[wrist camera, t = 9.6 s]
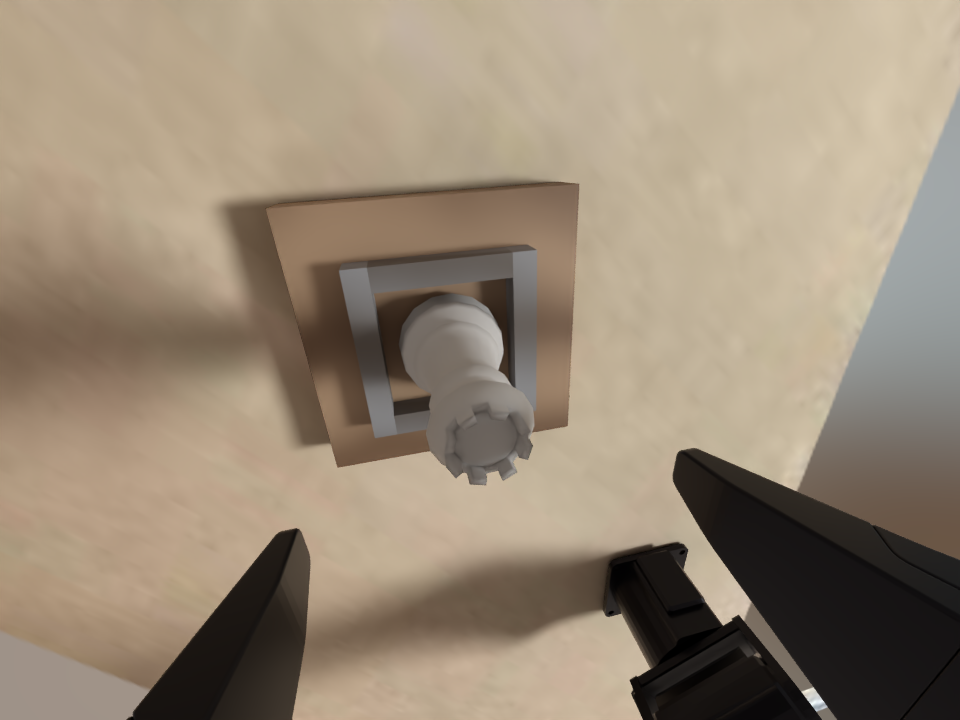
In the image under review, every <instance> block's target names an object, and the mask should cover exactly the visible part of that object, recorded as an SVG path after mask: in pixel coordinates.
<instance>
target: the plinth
mask: <svg viewBox="0 0 960 720" xmlns="http://www.w3.org/2000/svg"><path fill="white" fill-rule="evenodd" d="M578 200H579V184H575V183H565V182H554V183H541V184H528V185H515V186H502V187H489V188H476V189H463V190H450V191H437V192H424V193H411V194H398V195H385V196H372V197H359V198H346V199H333V200H320V201H307V202H294V203H281V204H276V205H274V206H271V207H268V208H266V212H267V216H268V219H269V223H270V226H271V230H272V234H273V237H274V241H275V244H276V248H277V252H278V255H279V259H280V262H281V266H282V269H283V273H284V277H285V280H286V284H287V287H288V291H289V295H290V298H291V302H292V305H293V309H294V313H295V316H296V320H297V323H298V327H299V331H300V334H301V338H302V341H303V345H304V349H305V352H306V356H307V359H308V363H309V367H310V370H311V374H312V377H313V381H314V385H315V388H316V392H317V395H318V399H319V403H320V406H321V410H322V413H323V417H324V421H325V424H326V428H327V431H328V435H329V439H330V442H331V446H332V449H333V453H334V456H335V460H336V464H337V467H344V466H349V465H355V464H360V463H366V462H371V461H377V460H382V459H388V458H394V457H399V456H405V455H410V454H416V453H421V452H427V451H430V448H429V444H428V440H427V436H426V431H427V426H428V422H429V418H430V414H431V412H430V408H429V403H430V399H431V394H430V393H429V392H427V391H425V390H423V389H421V388H419V387H418V385H417V384H416V383H415V382H414V381H413V379H412V378H411V377H410V376H409V374H408V373H407V372H406V370H405V366H404V363H403V359H402V355H401V351H400V348H399V340H400V335H401V330H402V325H403V324H404V322H405V321H406V319H407V318H408V316H409V315H410V314H411V312H412V311H413V309H414V308H416V307H417V306H419V305H420V304H422V303H424V302H425V301H427V300H428V299H430V298H431V297H436V296H441V295H446V294H451V293H453V294H458V295H463V296H469V297H473V298H474V299H476V300H477V301H478V302H480V303H481V304H483V305H484V306H486V307H487V308H488V309H489V310H490V312H491V313H492V315H493V317H494V318H495V320H496V322H497V323H498V327H499V329H500V330H501V333H502V341H503V349H504V350H503V356H502V360H501V363H500V366H499V370H498V371H500V372H501V373H503V374H504V375H505V376H506V378H507V379H508V381H509V382H510V384H511V385H512V387H514V388H516V389H518V390H519V391H521V392H523V393H524V395H525V396H526V398H527V399H528V401H529V403H530V404H531V406H532V407H533V414H534V428H533V431H532V432H537V431H543V430H549V429H554V428H560V427H565V426H568V407H569V387H570V366H571V345H572V324H573V304H574V283H575V262H576V241H577V221H578Z"/></svg>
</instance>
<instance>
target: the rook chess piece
mask: <svg viewBox="0 0 960 720" xmlns="http://www.w3.org/2000/svg"><path fill="white" fill-rule="evenodd" d="M399 348H400V351H401V355H402V359H403V363H404V366H405V370H406V372H407V373H408V374H409V376H410V377H411V378H412V379H413V381H414V382H415V383H416V384H417V385H418V387H419V388H421V389H423V390H425V391H427V392H429V393H430V394H431V399H430V403H429V408H430V412H431V414H430V418H429V422H428V426H427V431H426V436H427V440H428V444H429V448H430V451H431V452H432V453H433V455H434V456H435V457H436V458H437V459H438V460H439V461H440V462H441V464H443V465H445V466H446V468H447V469H448V470H449V471H450V472H451V473H452V474H453V476H454V477H455V478H457V477H458V476H459V475H460V474H461V473H467V475H468V479H469V483H470V484H473V485H486V482H487V476H486V474H487V473H490V472H494V471H499V473H500V476H501V478H502V480H505V479H507V478H508V477H510V476H512V475H513V474H515V473H517V470H516V468H515V466H514V463H513V461H514V460H515V459H516V458H517V456H519V458H522V459H526V460H528V458H529V455H530V452H531V450H532V447H533V445H532V443H531V441H530V437H531V434H532V431H533V428H534V414H533V407H532V406H531V404H530V403H529V401H528V399H527V398H526V396H525V395H524V393H523V392H521V391H519V390H518V389H516V388H514V387H512V385H511V384H510V382H509V381H508V379H507V378H506V376H505V375H504V374H503V373H501V372H500V371H498V370H499V366H500V363H501V360H502V356H503V350H504V349H503V341H502V333H501V330H500V329H499V327H498V323H497V322H496V320H495V318H494V317H493V315H492V313H491V312H490V310H489V309H488V308H487V307H486V306H484V305H483V304H481V303H480V302H478V301H477V300H476V299H474V298H473V297H469V296H463V295H458V294H453V293H451V294H446V295H441V296H436V297H431V298H430V299H428V300H427V301H425V302H424V303H422V304H420V305H419V306H417V307H416V308H414V309H413V311H412V312H411V314H410V315H409V316H408V318H407V319H406V321H405V322H404V324H403V325H402V330H401V335H400V340H399Z"/></svg>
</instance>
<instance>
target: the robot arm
mask: <svg viewBox="0 0 960 720" xmlns="http://www.w3.org/2000/svg"><path fill="white" fill-rule="evenodd" d="M673 482H674V484H675V487H676V488H677V490H678V492H679V493H680V495H681V497H682V498H683V500H684V502H685V503H686V505H687V507H688V509H689V510H690V512H691V514H692V515H693V517H694V519H695V520H696V522H697V524H698V525H699V527H700V529H701V531H702V532H703V534H704V535H705V537H706V539H707V540H708V542H709V543H710V545H711V546H712V547H713V549H714V550H715V552H716V553H717V554H718V556H719V557H720V559H721V560H722V561H723V563H724V564H725V566H726V567H727V568H728V570H729V571H730V572H731V574H732V575H733V577H734V578H735V579H736V581H737V582H738V583H739V585H740V586H741V588H742V589H743V590H744V592H745V593H746V595H747V596H748V597H749V599H750V600H751V601H752V603H753V604H754V606H755V607H756V608H757V610H758V611H759V613H760V614H761V615H762V617H763V618H764V619H765V621H766V622H767V624H768V625H769V626H770V628H771V629H772V630H773V632H774V633H775V635H776V636H777V637H778V639H779V640H780V642H781V643H782V644H783V646H784V647H785V648H786V650H787V651H788V653H789V654H790V655H791V657H792V658H793V659H794V661H795V662H796V664H797V665H798V666H799V668H800V669H801V671H802V672H803V673H804V675H805V676H806V677H807V679H808V680H809V682H810V683H811V684H812V686H813V687H814V689H815V690H816V691H817V693H818V694H819V695H820V697H821V698H822V700H823V701H824V702H825V704H826V705H827V706H828V708H829V709H830V711H831V712H832V713H833V714H834V716H835V717H836V718H837V720H960V560H958V559H956V558H953V557H951V556H948V555H946V554H943V553H941V552H938V551H935V550H933V549H930V548H928V547H926V546H923V545H921V544H918V543H916V542H914V541H911V540H909V539H906V538H904V537H902V536H899V535H897V534H894V533H892V532H890V531H888V530H885V529H883V528H881V527H878V526H876V525H871V524H870V523H869V522H866V521H864V520H862V519H859V518H857V517H855V516H852V515H850V514H847V513H845V512H843V511H841V510H839V509H836V508H834V507H832V506H829V505H827V504H825V503H822V502H820V501H817V500H815V499H813V498H811V497H808V496H806V495H804V494H801V493H799V492H797V491H794V490H792V489H790V488H787V487H785V486H783V485H780V484H778V483H776V482H773V481H771V480H769V479H766V478H764V477H762V476H759V475H757V474H755V473H752V472H750V471H748V470H746V469H743V468H741V467H739V466H736V465H734V464H732V463H729V462H727V461H725V460H722V459H720V458H718V457H715V456H713V455H711V454H708V453H706V452H704V451H701V450H699V449H696V448H691V449H686V450H681V451H679V452H678V454H677V456H676V461H675V466H674V471H673ZM687 553H688V549H687V548H686V546H685V545H684V544H677V545H673V546H669V547H664V548H660V549H656V550H652V551H648V552H644V553H640V554H636V555H631V556H627V557H623V558H619V559H615V560H613V561H611V562H610V563H609V567H608V575H607V583H606V590H605V598H604V606H603V611H604V613H605V615H606V616H607V617H610V616H614V615H618V614H622V615H623V617H624V619H625V621H626V623H627V625H628V627H629V629H630V631H631V632H632V634H633V636H634V638H635V640H636V642H637V644H638V646H639V648H640V650H641V651H642V653H643V655H644V657H645V659H646V661H647V663H648V665H649V667H650V670H648V671H647V672H645V673H643V674H642V675H640V676H638V677H637V676H635V677H633V678H632V679H630V682H631V685H632V687H633V691H632V693H631V694H632V697H633V699H634V701H635V703H636V705H637V707H638V709H639V712H640V714H641V716H642V719H643V720H822V719H821V718H820V716H819V715H818V714H817V712H816V711H815V709H814V708H813V707H812V705H811V704H810V703H809V701H808V700H807V699H806V698H805V696H804V695H803V694H802V692H801V691H800V690H799V688H798V687H797V686H796V685H795V683H794V682H793V681H792V680H791V678H790V677H789V676H788V675H787V673H786V672H785V671H784V670H783V668H782V667H781V666H780V665H779V664H778V662H777V661H776V660H775V659H774V658H773V656H772V655H771V654H770V653H769V651H768V650H767V649H766V648H765V646H764V645H763V644H762V643H761V642H760V640H759V639H758V638H757V637H756V635H755V634H754V633H753V632H752V631H751V629H750V628H749V627H748V626H747V624H746V623H745V622H744V621H743V620H742V618H741V617H740V616H739V615H737V616H735V617H734V618H732V621H731V622H729V623H727V624H725V625H724V626H723V625H722V624H721V622H720V621H719V620H718V618H717V617H716V615H715V614H714V613H713V611H712V610H711V609H710V607H709V606H708V605H707V603H706V602H705V600H704V597H703V596H702V595H701V593H700V592H699V591H698V589H697V588H696V587H695V585H694V584H693V582H692V581H691V580H690V578H689V577H688V576H687V574H686V573H685V572H684V570H683V569H684V565H685V561H686V557H687ZM309 579H310V555H309V551H308V549H307V546H306V543H305V540H304V538H303V535H302V532H301V531H300V530H299V529H297V528H295V529H290V530H285V531H281V532H279V533H278V534H276V535H275V537H274V538H273V539H272V540H271V542H270V543H269V544H268V545H267V546H266V548H265V549H264V550H263V551H262V553H261V554H260V555H259V556H258V558H257V559H256V560H255V561H254V563H253V564H252V565H251V566H250V568H249V569H248V570H247V571H246V573H245V574H244V575H243V576H242V577H241V579H240V580H239V581H238V582H237V584H236V585H235V586H234V587H233V589H232V590H231V591H230V592H229V594H228V595H227V596H226V597H225V599H224V600H223V601H222V602H221V603H220V605H219V606H218V607H217V608H216V610H215V611H214V612H213V613H212V615H211V616H210V617H209V618H208V620H207V621H206V622H205V623H204V625H203V626H202V627H201V628H200V629H199V631H198V632H197V633H196V634H195V636H194V637H193V638H192V639H191V641H190V642H189V643H188V644H187V646H186V647H185V648H184V649H183V651H182V652H181V653H180V654H179V655H178V657H177V658H176V659H175V660H174V662H173V663H172V664H171V665H170V667H169V668H168V669H167V670H166V672H165V673H164V674H163V675H162V677H161V678H160V679H159V680H158V681H157V683H156V684H155V685H154V686H153V688H152V689H151V690H150V691H149V693H148V694H147V695H146V696H145V698H144V699H143V700H142V701H141V703H140V704H139V705H138V706H137V707H136V709H135V710H134V711H133V717H129V718H128V719H127V720H292V716H293V710H294V704H295V699H296V693H297V687H298V681H299V676H300V670H301V664H302V658H303V652H304V645H305V638H306V625H307V610H308V594H309ZM754 654H755V655H756V656H754Z"/></svg>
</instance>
